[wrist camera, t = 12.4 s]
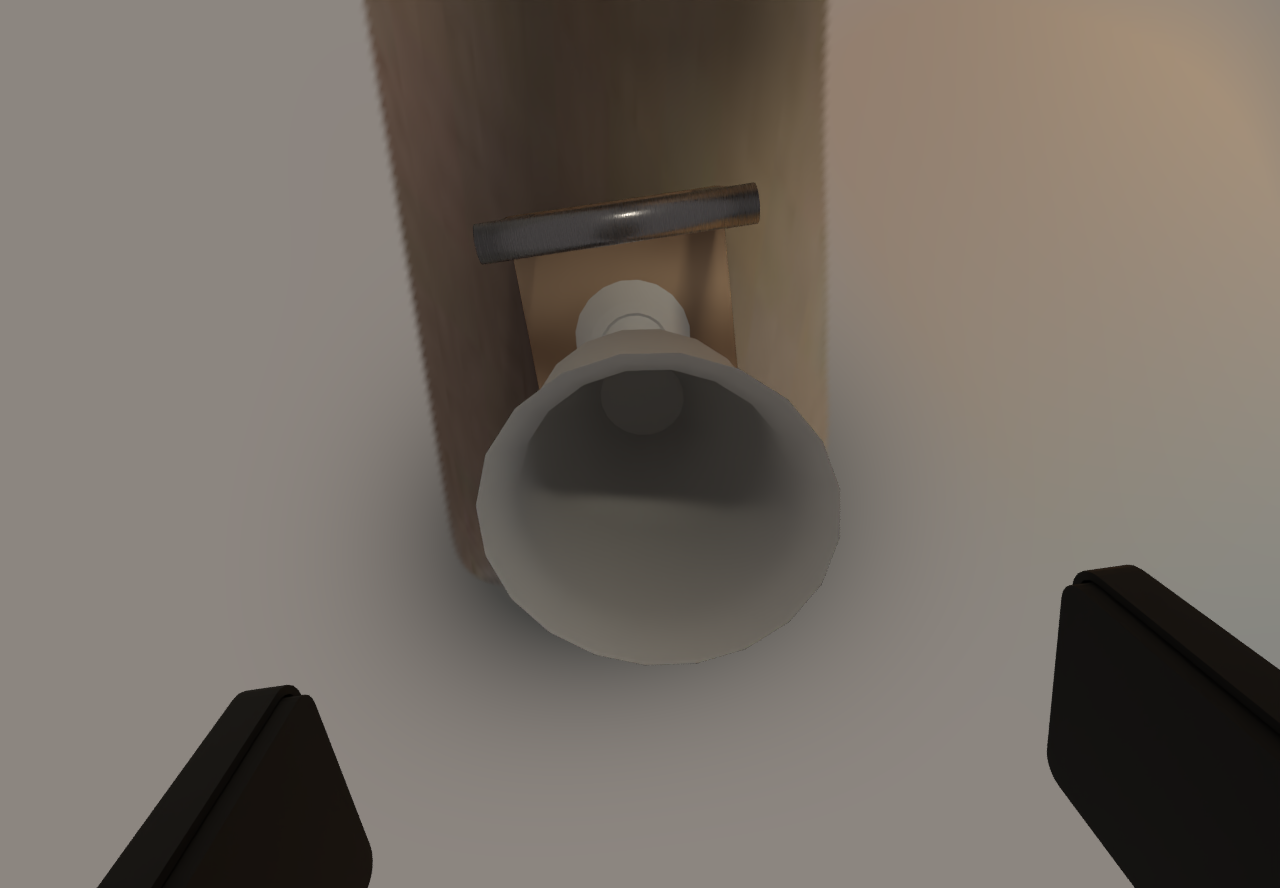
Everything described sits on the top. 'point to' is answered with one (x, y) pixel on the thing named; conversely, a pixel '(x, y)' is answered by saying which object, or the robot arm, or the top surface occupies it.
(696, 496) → the chalice
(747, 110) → the top surface
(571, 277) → the cart
